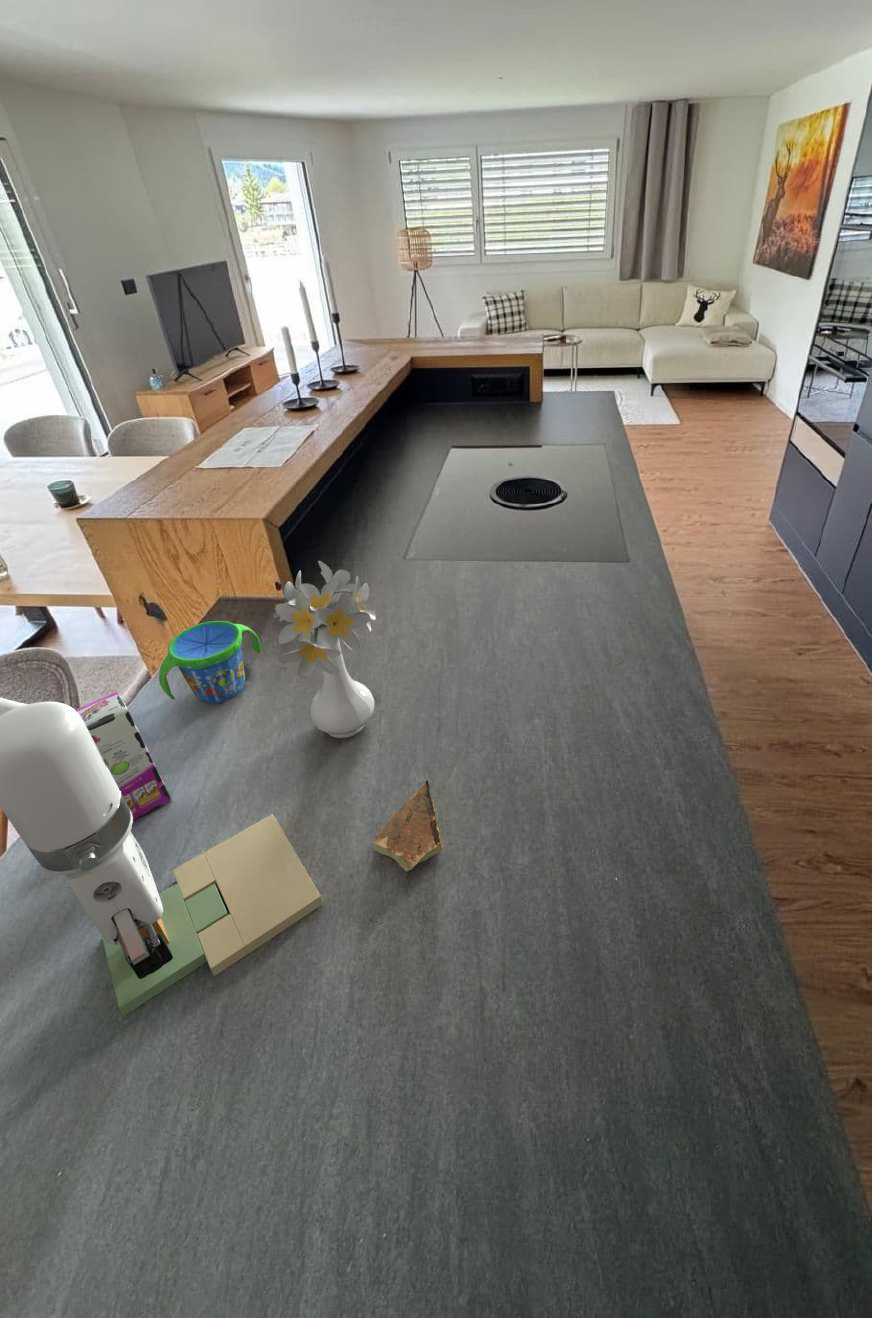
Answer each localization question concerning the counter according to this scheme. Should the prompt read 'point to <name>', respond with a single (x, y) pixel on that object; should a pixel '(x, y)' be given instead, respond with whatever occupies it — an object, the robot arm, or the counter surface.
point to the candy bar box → (125, 754)
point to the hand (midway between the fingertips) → (146, 935)
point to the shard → (411, 832)
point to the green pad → (181, 939)
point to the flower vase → (329, 647)
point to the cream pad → (249, 890)
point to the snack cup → (209, 660)
